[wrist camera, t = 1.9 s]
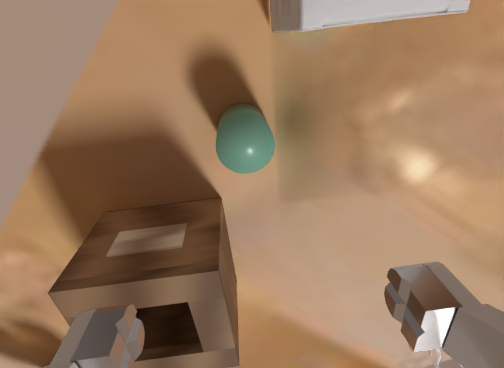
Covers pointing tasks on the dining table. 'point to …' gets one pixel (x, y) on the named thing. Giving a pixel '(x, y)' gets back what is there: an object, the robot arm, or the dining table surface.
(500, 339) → the robot arm
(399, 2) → the small box
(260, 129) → the teal rounded cylinder
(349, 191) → the dining table surface
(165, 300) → the ticket box
